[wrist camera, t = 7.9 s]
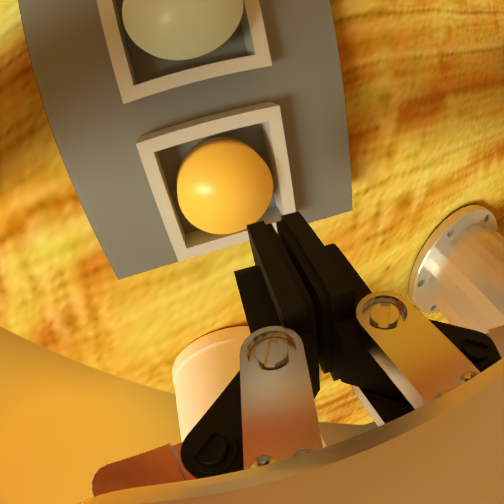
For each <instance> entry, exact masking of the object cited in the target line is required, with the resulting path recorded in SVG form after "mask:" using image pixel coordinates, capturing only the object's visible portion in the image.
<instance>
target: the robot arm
mask: <svg viewBox="0 0 504 504" xmlns="http://www.w3.org/2000/svg"><path fill="white" fill-rule="evenodd" d="M276 227H277V232H278V234H277V232H276V230H275V229H274V227H273V225H272V223H270V224H265V222H264V221H259V222H256V223H252V224H248V225H247V231H248V235H249V240H250V244H251V248H252V252H253V257H254V261H255V265H256V266H252V267H249V268H245V269H241V270H238V271H234V273H235V277H236V281H237V285H238V289H239V292H240V296H241V300H242V304H243V307H244V311H245V315H246V319H247V322H248V326H249V330H250V333H251V334H250V335H249V336H248V337H247V338H246V339H245V340H244V342H243V344H242V346H241V349H240V370H239V372H238V373H237V374H236V375H235V377H234V378H233V379H232V380H231V382H230V383H229V384H228V386H227V387H226V388H225V389H224V391H223V392H222V393H221V394H220V396H219V397H218V398H217V399H216V401H215V402H214V403H213V404H212V406H211V407H210V408H209V409H208V410H207V412H206V413H205V414H204V415H203V417H202V418H201V419H200V420H199V421H198V423H197V424H196V425H195V426H194V427H193V429H192V430H191V431H190V432H189V433H188V435H187V436H186V438H185V439H184V441H183V442H181V443H179V444H176V445H173V446H172V445H171V444H170V443H169V444H167V445H164V446H161V447H158V448H156V449H153V450H150V451H147V452H145V453H142V454H139V455H136V456H133V457H130V458H127V459H124V460H121V461H117V462H114V463H111V464H108V465H106V466H104V467H102V468H100V469H99V470H98V471H97V472H96V474H95V475H94V478H93V481H92V491H93V495H94V497H93V498H90V499H87V500H85V501H83V502H81V503H79V504H504V237H503V236H502V235H501V234H499V233H498V225H497V220H496V218H495V216H494V215H493V213H492V212H491V211H489V210H488V209H486V208H485V207H483V206H480V205H469V206H466V207H463V208H461V209H459V210H458V211H456V212H454V213H453V214H451V215H450V216H449V217H448V218H447V219H445V220H444V221H443V222H442V223H441V224H440V225H439V226H438V227H437V228H436V229H435V231H434V232H433V233H432V235H431V236H430V237H429V238H428V240H427V241H426V243H425V244H424V246H423V248H422V249H421V251H420V253H419V255H418V257H417V259H416V261H415V264H414V266H413V269H412V272H411V276H410V281H409V294H410V298H411V300H412V301H413V303H414V304H415V305H416V306H417V308H418V309H419V310H421V311H423V312H426V313H434V312H439V311H441V313H442V314H443V315H444V316H445V317H446V318H447V320H448V321H449V322H450V323H451V324H452V325H450V324H446V323H442V322H438V321H433V320H429V319H427V318H426V317H425V316H424V315H423V314H422V313H421V312H420V311H419V310H418V309H417V308H416V307H415V306H413V305H412V304H411V303H410V302H409V301H408V300H407V299H406V298H404V297H403V296H401V295H399V294H397V293H394V292H388V291H380V292H374V293H372V292H371V291H370V290H369V288H368V287H367V285H366V284H365V283H364V281H363V280H362V279H361V277H360V276H359V275H358V273H357V272H356V271H355V269H354V268H353V267H352V265H351V264H350V263H349V261H348V260H347V259H346V257H345V256H344V255H343V253H342V252H341V251H340V249H339V248H338V247H337V246H336V245H335V244H330V245H326V246H324V245H323V243H322V242H321V241H320V239H319V238H318V237H317V235H316V234H315V232H314V231H313V230H312V228H311V227H310V226H309V224H308V223H307V222H306V220H305V219H304V217H303V216H302V215H301V213H300V212H299V211H297V212H293V213H289V214H286V215H282V216H281V221H277V222H276ZM319 364H320V366H321V369H322V371H323V372H324V373H328V372H330V373H331V376H332V378H333V380H334V381H335V380H338V379H341V381H342V382H344V383H347V384H350V385H351V386H352V389H353V391H354V393H355V394H356V396H357V397H358V399H359V400H360V401H361V403H362V404H363V406H364V407H365V408H366V410H367V411H368V413H369V414H370V416H371V417H372V418H373V420H374V421H375V423H376V424H377V425H378V427H377V428H375V429H372V430H370V431H368V432H365V433H362V434H360V435H357V436H355V437H352V438H350V439H347V440H344V441H342V442H339V443H336V444H334V445H331V446H328V447H325V448H323V444H322V439H321V433H320V428H319V422H318V417H317V412H316V407H315V401H314V399H315V397H316V395H317V393H318V392H319V390H320V382H319Z"/></svg>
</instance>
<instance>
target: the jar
mask: <svg viewBox="0 0 504 504" xmlns="http://www.w3.org/2000/svg"><path fill="white" fill-rule="evenodd" d="M250 334H251V333H250V330H249V326H237V327H230V328H225V329H221V330H218V331H215V332H212V333H209V334H207V335H204V336H202V337H200V338H198V339H197V340H195V341H193V342H192V343H191V344H189V345H188V346H187V347H186V348H184V349H183V350H182V352H181V353H180V354H179V355H178V357H177V358H176V360H175V362H174V365H173V370H172V373H173V382H174V384H175V392H176V400H177V409H178V417H179V425H180V432H181V439H182V442H183V441H184V439H185V438H186V436H187V435H188V433H189V432H190V431H191V430H192V429H193V427H194V426H195V425H196V424H197V423H198V421H199V420H200V419H201V418H202V417H203V415H204V414H205V413H206V412H207V410H208V409H209V408H210V407H211V406H212V404H213V403H214V402H215V401H216V399H217V398H218V397H219V396H220V394H221V393H222V392H223V391H224V389H225V388H226V387H227V386H228V384H229V383H230V382H231V380H232V379H233V378H234V377H235V375H236V374H237V373H238V372H239V370H240V349H241V346H242V344H243V342H244V340H245V339H246V338H247V337H248V336H249V335H250ZM321 439H322V437H321ZM322 444H323V448H325V447H326V444H325V442H324V441H323V440H322Z"/></svg>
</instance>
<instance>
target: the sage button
mask: <svg viewBox="0 0 504 504" xmlns="http://www.w3.org/2000/svg"><path fill="white" fill-rule="evenodd" d="M242 13H243V0H124V1H123V7H122V18H123V23H124V26H125V29H126V31H127V33H128V35H129V36H130V38H131V39H132V41H133V42H134V43H135V44H136V45H137V46H139V47H140V48H141V49H143V50H144V51H146V52H148V53H149V54H151V55H153V56H156V57H158V58H162V59H166V60H178V61H179V60H188V59H193V58H196V57H199V56H202V55H204V54H207V53H209V52H211V51H213V50H215V49H216V48H218V47H219V46H221V45H222V44H223V43H224V42H225V41H227V40H228V39H229V38H230V36H231V35H232V34H233V33H234V31H235V30H236V28H237V27H238V25H239V22H240V20H241V17H242Z"/></svg>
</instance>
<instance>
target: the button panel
mask: <svg viewBox="0 0 504 504" xmlns="http://www.w3.org/2000/svg"><path fill="white" fill-rule="evenodd" d="M123 1H124V0H18V3H19V9H20V14H21V20H22V25H23V30H24V34H25V39H26V43H27V48H28V52H29V56H30V60H31V64H32V68H33V71H34V75H35V79H36V82H37V86H38V89H39V92H40V96H41V99H42V102H43V105H44V109H45V112H46V115H47V118H48V121H49V124H50V127H51V129H52V132H53V135H54V138H55V141H56V143H57V146H58V149H59V151H60V154H61V157H62V159H63V162H64V164H65V167H66V169H67V172H68V174H69V177H70V179H71V182H72V184H73V186H74V189H75V191H76V193H77V196H78V198H79V200H80V203H81V205H82V207H83V209H84V211H85V214H86V216H87V218H88V220H89V222H90V224H91V227H92V229H93V231H94V233H95V235H96V237H97V239H98V241H99V243H100V245H101V247H102V249H103V251H104V253H105V255H106V257H107V259H108V261H109V263H110V265H111V267H112V269H113V270H114V272H115V274H116V276H117V278H118V280H119V279H122V278H126V277H129V276H132V275H135V274H139V273H142V272H145V271H149V270H152V269H155V268H158V267H162V266H165V265H168V264H172V263H175V262H178V261H179V262H180V261H183V260H187V259H190V258H193V257H196V256H200V255H203V254H206V253H210V252H213V251H217V250H220V249H223V248H227V247H230V246H233V245H237V244H240V243H243V242H247V241H250V240H249V235H248V231H247V228H246V229H244V230H241V231H239V232H235V233H231V234H212V233H208V232H205V231H203V230H201V229H199V228H197V227H195V226H194V225H193V224H191V223H190V222H189V221H188V220H187V218H186V217H185V216H184V214H183V213H182V211H181V208H180V206H179V202H178V195H177V172H178V168H179V165H180V163H181V161H182V159H183V158H184V156H185V155H186V154H187V153H188V151H189V150H190V149H192V148H193V147H194V146H195V145H197V144H198V143H200V142H202V141H204V140H207V139H210V138H214V137H231V138H235V139H238V140H241V141H243V142H245V143H246V144H248V145H249V146H250V147H251V148H253V149H254V150H255V152H256V153H257V154H258V155H259V156H260V157H261V158H262V159H263V160H264V162H265V163H266V164H267V166H268V168H269V170H270V172H271V175H272V179H273V194H272V198H271V201H270V204H269V206H268V208H267V209H266V211H265V213H264V214H263V215H262V216H261V217H260V218H259V219H258V220H257V221H256V222H259V221H264V222H265V224H270V223H272V225H273V227H274V229H275V230H276V232H277V227H276V222H277V221H281V216H282V215H286V214H289V213H293V212H297V211H299V212H300V213H301V215H302V216H303V217H304V219H305V220H306V222H307V223H310V222H314V221H317V220H320V219H324V218H327V217H331V216H334V215H338V214H341V213H345V212H348V211H352V185H351V166H350V151H349V137H348V126H347V115H346V105H345V96H344V87H343V79H342V72H341V64H340V57H339V51H338V44H337V38H336V32H335V26H334V21H333V15H332V10H331V5H330V0H243V13H242V17H241V20H240V22H239V25H238V27H237V28H236V30H235V31H234V33H233V34H232V35H231V36H230V38H229V39H228V40H227V41H225V42H224V43H223V44H222V45H221V46H219V47H218V48H216V49H215V50H213V51H211V52H209V53H207V54H204V55H202V56H199V57H196V58H193V59H188V60H179V61H178V60H166V59H162V58H158V57H156V56H153V55H151V54H149V53H148V52H146V51H144V50H143V49H141V48H140V47H139V46H137V45H136V44H135V43H134V42H133V41H132V39H131V38H130V36H129V35H128V33H127V31H126V29H125V26H124V23H123V18H122V7H123ZM256 222H255V223H256Z"/></svg>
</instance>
